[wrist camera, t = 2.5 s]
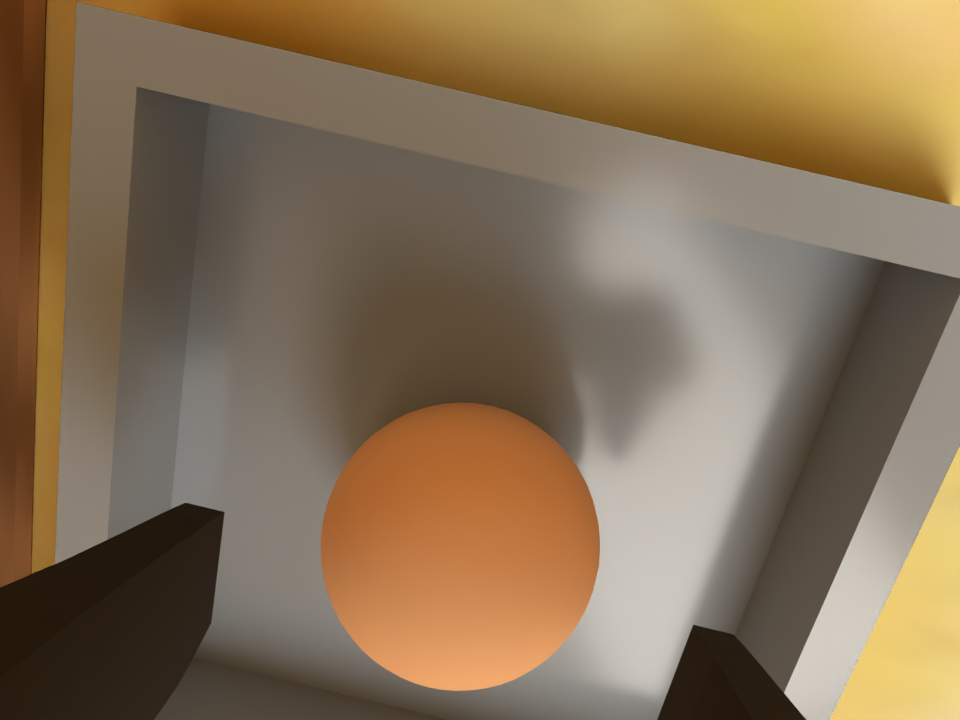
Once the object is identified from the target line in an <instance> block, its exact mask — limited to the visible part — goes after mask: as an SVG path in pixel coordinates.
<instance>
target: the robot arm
mask: <svg viewBox="0 0 960 720" xmlns="http://www.w3.org/2000/svg"><path fill="white" fill-rule="evenodd" d="M224 513H225V512H223V511H219V510H214V509H210V508H206V507H202V506H198V505H194V504H190V503H183V504H181V505H179V506H177V507H174V508H172V509H170V510H168V511H166V512H164V513H161V514H159V515H157V516H155V517H153V518H151V519H149V520H147V521H145V522H143V523H141V524H139V525H137V526H135V527H133V528H131V529H129V530H127V531H125V532H123V533H120V534H118V535H116V536H114V537H112V538H110V539H108V540H106V541H104V542H102V543H100V544H97V545H95V546H93V547H91V548H89V549H87V550H85V551H83V552H81V553H78V554H76V555H74V556H72V557H70V558H68V559H66V560H64V561H61V562H59V563H57V564H54V565H52V566H50V567H47V568H45V569H43V570H40V571H38V572H35V573H33V574H31V575H28V576H26V577H24V578H21V579H19V580H17V581H14V582H12V583H10V584H7V585H5V586H3V587H0V720H154V719H155V718H156V717H157V715H158V714H159V712H160V711H161V709H162V708H163V706H164V705H165V704H166V702H167V701H168V699H169V698H170V696H171V695H172V693H173V692H174V690H175V689H176V687H177V686H178V684H179V683H180V681H181V679H182V677H183V675H184V674H185V672H186V670H187V668H188V666H189V665H190V663H191V661H192V659H193V657H194V655H195V653H196V651H197V650H198V648H199V646H200V644H201V642H202V640H203V638H204V636H205V634H206V632H207V630H208V628H209V626H210V624H211V622H212V613H213V605H214V597H215V588H216V580H217V572H218V563H219V555H220V547H221V538H222V530H223V522H224ZM657 720H806V719H805V718H804V716H803V715H802V714H801V713H800V712H799V710H798V709H797V708H796V707H795V706H794V705H793V703H792V702H791V701H790V700H789V698H788V697H787V696H786V695H785V694H784V692H783V691H782V690H781V689H780V688H779V686H778V685H777V684H776V683H775V682H774V680H773V679H772V678H771V677H770V676H769V674H768V673H767V672H766V671H765V670H764V668H763V667H762V666H761V665H760V664H759V663H758V661H757V660H756V659H755V658H754V657H753V655H752V654H751V653H750V652H749V651H748V650H747V649H746V647H745V646H744V645H743V644H742V643H741V642H740V641H739V640H738V639H737V638H736V636H735V635H734V634H730V633H726V632H722V631H718V630H713V629H709V628H705V627H701V626H697V625H693V627H692V629H691V632H690V634H689V637H688V640H687V642H686V645H685V648H684V650H683V653H682V655H681V658H680V661H679V663H678V666H677V669H676V671H675V674H674V677H673V679H672V682H671V684H670V687H669V690H668V692H667V695H666V698H665V700H664V703H663V705H662V708H661V711H660V713H659V716H658V719H657Z"/></svg>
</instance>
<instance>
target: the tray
mask: <svg viewBox="0 0 960 720" xmlns="http://www.w3.org/2000/svg"><path fill="white" fill-rule="evenodd" d="M45 7H46V0H0V587H3V586H5V585H7V584H10V583H12V582H14V581H17V580H19V579H21V578H24V577H26V576H28V575H31V541H32V503H33V465H34V427H35V389H36V351H37V313H38V274H39V236H40V198H41V160H42V122H43V84H44V46H45Z"/></svg>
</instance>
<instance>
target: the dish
mask: <svg viewBox="0 0 960 720" xmlns="http://www.w3.org/2000/svg"><path fill="white" fill-rule="evenodd" d="M459 402H461V403H478V404H484V405H489V406H494V407H497V408H501V409H504V410H507V411H510V412H512V413H514V414H517V415H519V416H521V417H523V418H525V419H527V420H528V421H530V422H532V423H533V424H535V425H537V426H538V427H539V428H541V429H542V430H543V431H545V432H546V433H547V434H548V435H550V436H551V437H552V438H554V439H555V440H556V442H557V443H558V444H559V445H560V446H561V447H562V448H563V449H564V450H565V451H566V452H567V453H568V455H569V456H570V457H571V459H572V460H573V461H574V463H575V464H576V466H577V467H578V469H579V471H580V473H581V474H582V476H583V478H584V480H585V482H586V484H587V486H588V488H589V491H590V494H591V496H592V499H593V502H594V506H595V510H596V514H597V519H598V523H599V534H600V558H599V568H598V573H597V577H596V581H595V585H594V589H593V593H592V596H591V598H590V601H589V603H588V606H587V608H586V610H585V612H584V614H583V616H582V618H581V619H580V621H579V623H578V624H577V626H576V628H575V629H574V631H573V632H572V633H571V635H570V636H569V637H568V638H567V640H566V641H565V642H564V643H563V644H562V645H561V646H560V648H559V649H558V650H557V651H556V652H554V653H553V654H552V655H551V656H550V657H549V658H548V659H547V660H546V661H544V662H543V663H541V664H540V665H539V666H537V667H536V668H534V669H533V670H531V671H529V672H528V673H526V674H524V675H522V676H520V677H518V678H516V679H514V680H512V681H509V682H506V683H504V684H501V685H497V686H493V687H489V688H484V689H477V690H465V691H452V690H440V689H435V688H430V687H425V686H422V685H419V684H415V683H413V682H410V681H408V680H406V679H403V678H401V677H399V676H397V675H395V674H394V673H392V672H390V671H388V670H386V669H385V668H383V667H382V666H381V665H379V664H378V663H376V662H375V661H374V660H372V659H371V658H370V657H369V656H368V655H367V654H366V653H365V652H363V651H362V649H361V648H360V647H359V646H358V645H357V644H356V643H355V642H354V640H353V639H352V638H351V636H350V635H349V634H348V632H347V631H346V629H345V628H344V626H343V625H342V623H341V622H340V620H339V618H338V616H337V614H336V612H335V610H334V608H333V606H332V603H331V600H330V597H329V595H328V592H327V589H326V586H325V582H324V577H323V572H322V563H321V545H320V542H321V532H322V524H323V518H324V514H325V510H326V506H327V502H328V500H329V497H330V495H331V492H332V490H333V488H334V485H335V483H336V481H337V478H338V477H339V475H340V473H341V472H342V470H343V468H344V467H345V465H346V464H347V462H348V461H349V460H350V459H351V457H352V456H353V455H354V454H355V452H356V451H357V450H358V449H359V448H360V446H361V445H362V444H363V443H364V442H366V441H367V440H368V439H369V438H370V437H371V436H372V435H373V434H374V433H376V432H377V431H379V430H380V429H382V428H383V427H384V426H386V425H387V424H389V423H390V422H392V421H393V420H395V419H397V418H399V417H401V416H403V415H405V414H407V413H410V412H413V411H416V410H419V409H422V408H425V407H430V406H435V405H440V404H446V403H459ZM959 446H960V207H959V206H955V205H951V204H946V203H942V202H938V201H933V200H929V199H925V198H921V197H916V196H912V195H908V194H903V193H899V192H895V191H890V190H886V189H882V188H877V187H873V186H869V185H864V184H860V183H856V182H852V181H847V180H843V179H839V178H834V177H830V176H826V175H821V174H817V173H813V172H808V171H804V170H800V169H795V168H791V167H787V166H783V165H778V164H774V163H770V162H765V161H761V160H757V159H752V158H748V157H744V156H739V155H735V154H731V153H726V152H722V151H718V150H714V149H709V148H705V147H701V146H696V145H692V144H688V143H683V142H679V141H675V140H670V139H666V138H662V137H657V136H653V135H649V134H645V133H640V132H636V131H632V130H627V129H623V128H619V127H614V126H610V125H606V124H601V123H597V122H593V121H588V120H584V119H580V118H576V117H571V116H567V115H563V114H558V113H554V112H550V111H545V110H541V109H537V108H532V107H528V106H524V105H519V104H515V103H511V102H507V101H502V100H498V99H494V98H489V97H485V96H481V95H476V94H472V93H468V92H463V91H459V90H455V89H450V88H446V87H442V86H438V85H433V84H429V83H425V82H420V81H416V80H412V79H407V78H403V77H399V76H394V75H390V74H386V73H381V72H377V71H373V70H369V69H364V68H360V67H356V66H351V65H347V64H343V63H338V62H334V61H330V60H325V59H321V58H317V57H312V56H308V55H304V54H300V53H295V52H291V51H287V50H282V49H278V48H274V47H269V46H265V45H261V44H256V43H252V42H248V41H243V40H239V39H235V38H230V37H226V36H222V35H218V34H213V33H209V32H205V31H200V30H196V29H192V28H187V27H183V26H179V25H174V24H170V23H166V22H161V21H157V20H153V19H149V18H144V17H140V16H136V15H131V14H127V13H123V12H118V11H114V10H110V9H105V8H101V7H97V6H92V5H88V4H84V3H80V2H76V28H75V54H74V80H73V106H72V132H71V158H70V184H69V210H68V236H67V261H66V287H65V313H64V339H63V365H62V391H61V417H60V443H59V469H58V495H57V521H56V547H55V564H57V563H59V562H61V561H64V560H66V559H68V558H70V557H72V556H74V555H76V554H78V553H81V552H83V551H85V550H87V549H89V548H91V547H93V546H95V545H97V544H100V543H102V542H104V541H106V540H108V539H110V538H112V537H114V536H116V535H118V534H120V533H123V532H125V531H127V530H129V529H131V528H133V527H135V526H137V525H139V524H141V523H143V522H145V521H147V520H149V519H151V518H153V517H155V516H157V515H159V514H161V513H164V512H166V511H168V510H170V509H172V508H174V507H177V506H179V505H181V504H183V503H190V504H194V505H198V506H202V507H206V508H210V509H214V510H219V511H223V512H225V513H224V522H223V530H222V538H221V547H220V555H219V563H218V572H217V580H216V588H215V597H214V605H213V613H212V622H211V624H210V626H209V628H208V630H207V632H206V634H205V636H204V638H203V640H202V642H201V644H200V646H199V648H198V650H197V651H196V653H195V655H194V657H193V659H192V661H191V663H190V665H189V666H188V668H187V670H186V672H185V674H184V675H183V677H182V679H181V681H180V683H179V684H178V686H177V687H176V689H175V690H174V692H173V693H172V695H171V696H170V698H169V699H168V701H167V702H166V704H165V705H164V706H163V708H162V709H161V711H160V712H159V714H158V715H157V717H156V718H155V719H154V720H657V719H658V716H659V713H660V711H661V708H662V705H663V703H664V700H665V698H666V695H667V692H668V690H669V687H670V684H671V682H672V679H673V677H674V674H675V671H676V669H677V666H678V663H679V661H680V658H681V655H682V653H683V650H684V648H685V645H686V642H687V640H688V637H689V634H690V632H691V629H692V627H693V625H697V626H701V627H705V628H709V629H713V630H718V631H722V632H726V633H730V634H734V635H735V636H736V638H737V639H738V640H739V641H740V642H741V643H742V644H743V645H744V646H745V647H746V649H747V650H748V651H749V652H750V653H751V654H752V655H753V657H754V658H755V659H756V660H757V661H758V663H759V664H760V665H761V666H762V667H763V668H764V670H765V671H766V672H767V673H768V674H769V676H770V677H771V678H772V679H773V680H774V682H775V683H776V684H777V685H778V686H779V688H780V689H781V690H782V691H783V692H784V694H785V695H786V696H787V697H788V698H789V700H790V701H791V702H792V703H793V705H794V706H795V707H796V708H797V709H798V710H799V712H800V713H801V714H802V715H803V716H804V718H805V719H806V720H830V719H831V716H832V714H833V712H834V710H835V708H836V706H837V704H838V702H839V700H840V697H841V695H842V693H843V691H844V689H845V687H846V685H847V683H848V681H849V678H850V676H851V674H852V672H853V670H854V668H855V666H856V664H857V662H858V659H859V657H860V655H861V653H862V651H863V649H864V647H865V645H866V643H867V640H868V638H869V636H870V634H871V632H872V630H873V628H874V626H875V624H876V621H877V619H878V617H879V615H880V613H881V611H882V609H883V607H884V605H885V602H886V600H887V598H888V596H889V594H890V592H891V590H892V588H893V586H894V583H895V581H896V579H897V577H898V575H899V573H900V571H901V569H902V567H903V565H904V562H905V560H906V558H907V556H908V554H909V552H910V550H911V548H912V546H913V543H914V541H915V539H916V537H917V535H918V533H919V531H920V529H921V527H922V524H923V522H924V520H925V518H926V516H927V514H928V512H929V510H930V508H931V505H932V503H933V501H934V499H935V497H936V495H937V493H938V491H939V489H940V486H941V484H942V482H943V480H944V478H945V476H946V474H947V472H948V470H949V467H950V465H951V463H952V461H953V459H954V457H955V455H956V453H957V451H958V448H959Z"/></svg>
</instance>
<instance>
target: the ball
mask: <svg viewBox="0 0 960 720" xmlns="http://www.w3.org/2000/svg"><path fill="white" fill-rule="evenodd" d="M320 545H321V563H322V572H323V577H324V582H325V586H326V589H327V592H328V595H329V597H330V600H331V603H332V606H333V608H334V610H335V612H336V614H337V616H338V618H339V620H340V622H341V623H342V625H343V626H344V628H345V629H346V631H347V632H348V634H349V635H350V636H351V638H352V639H353V640H354V642H355V643H356V644H357V645H358V646H359V647H360V648H361V649H362V651H363V652H365V653H366V654H367V655H368V656H369V657H370V658H371V659H372V660H374V661H375V662H376V663H378V664H379V665H381V666H382V667H383V668H385V669H386V670H388V671H390V672H392V673H394V674H395V675H397V676H399V677H401V678H403V679H406V680H408V681H410V682H413V683H415V684H419V685H422V686H425V687H430V688H435V689H440V690H452V691H465V690H477V689H484V688H489V687H493V686H497V685H501V684H504V683H506V682H509V681H512V680H514V679H516V678H518V677H520V676H522V675H524V674H526V673H528V672H529V671H531V670H533V669H534V668H536V667H537V666H539V665H540V664H541V663H543V662H544V661H546V660H547V659H548V658H549V657H550V656H551V655H552V654H553V653H554V652H556V651H557V650H558V649H559V648H560V646H561V645H562V644H563V643H564V642H565V641H566V640H567V638H568V637H569V636H570V635H571V633H572V632H573V631H574V629H575V628H576V626H577V624H578V623H579V621H580V619H581V618H582V616H583V614H584V612H585V610H586V608H587V606H588V603H589V601H590V598H591V596H592V593H593V589H594V585H595V581H596V577H597V573H598V568H599V558H600V534H599V523H598V519H597V514H596V510H595V506H594V502H593V499H592V496H591V494H590V491H589V488H588V486H587V484H586V482H585V480H584V478H583V476H582V474H581V473H580V471H579V469H578V467H577V466H576V464H575V463H574V461H573V460H572V459H571V457H570V456H569V455H568V453H567V452H566V451H565V450H564V449H563V448H562V447H561V446H560V445H559V444H558V443H557V442H556V440H555V439H554V438H552V437H551V436H550V435H548V434H547V433H546V432H545V431H543V430H542V429H541V428H539V427H538V426H537V425H535V424H533V423H532V422H530V421H528V420H527V419H525V418H523V417H521V416H519V415H517V414H514V413H512V412H510V411H507V410H504V409H501V408H497V407H494V406H489V405H484V404H478V403H461V402H459V403H446V404H440V405H435V406H430V407H425V408H422V409H419V410H416V411H413V412H410V413H407V414H405V415H403V416H401V417H399V418H397V419H395V420H393V421H392V422H390V423H389V424H387V425H386V426H384V427H383V428H382V429H380V430H379V431H377V432H376V433H374V434H373V435H372V436H371V437H370V438H369V439H368V440H367V441H366V442H364V443H363V444H362V445H361V446H360V448H359V449H358V450H357V451H356V452H355V454H354V455H353V456H352V457H351V459H350V460H349V461H348V462H347V464H346V465H345V467H344V468H343V470H342V472H341V473H340V475H339V477H338V478H337V481H336V483H335V485H334V488H333V490H332V492H331V495H330V497H329V500H328V502H327V506H326V510H325V514H324V518H323V524H322V532H321V542H320Z"/></svg>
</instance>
